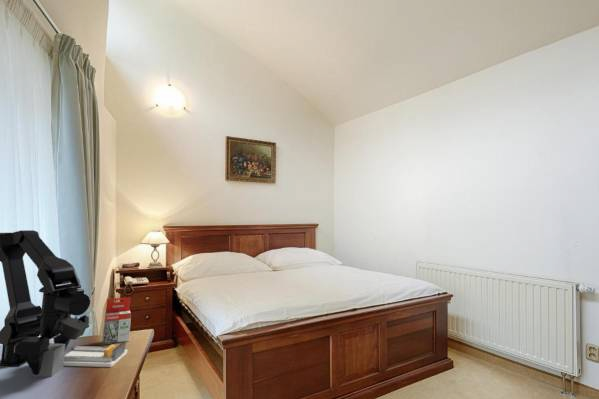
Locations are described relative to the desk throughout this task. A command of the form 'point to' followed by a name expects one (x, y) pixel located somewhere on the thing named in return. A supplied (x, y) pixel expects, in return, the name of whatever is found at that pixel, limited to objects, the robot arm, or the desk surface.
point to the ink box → (117, 321)
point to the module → (52, 360)
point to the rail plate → (93, 356)
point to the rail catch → (109, 350)
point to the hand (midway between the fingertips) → (48, 366)
